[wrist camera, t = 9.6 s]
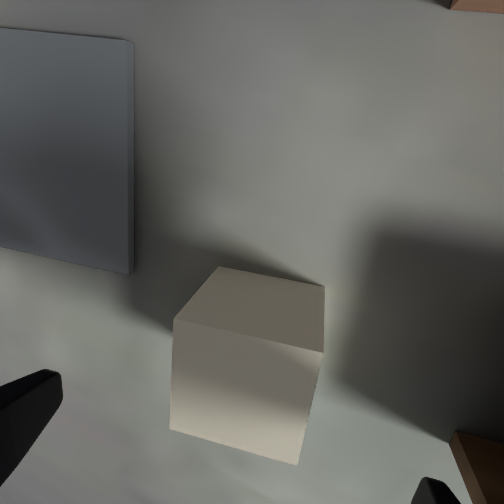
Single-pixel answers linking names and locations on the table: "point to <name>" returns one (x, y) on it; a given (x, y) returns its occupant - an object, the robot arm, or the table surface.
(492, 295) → the table surface
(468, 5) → the terracotta block
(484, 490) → the box
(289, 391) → the cream cube
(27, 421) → the robot arm
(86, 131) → the slate pad
